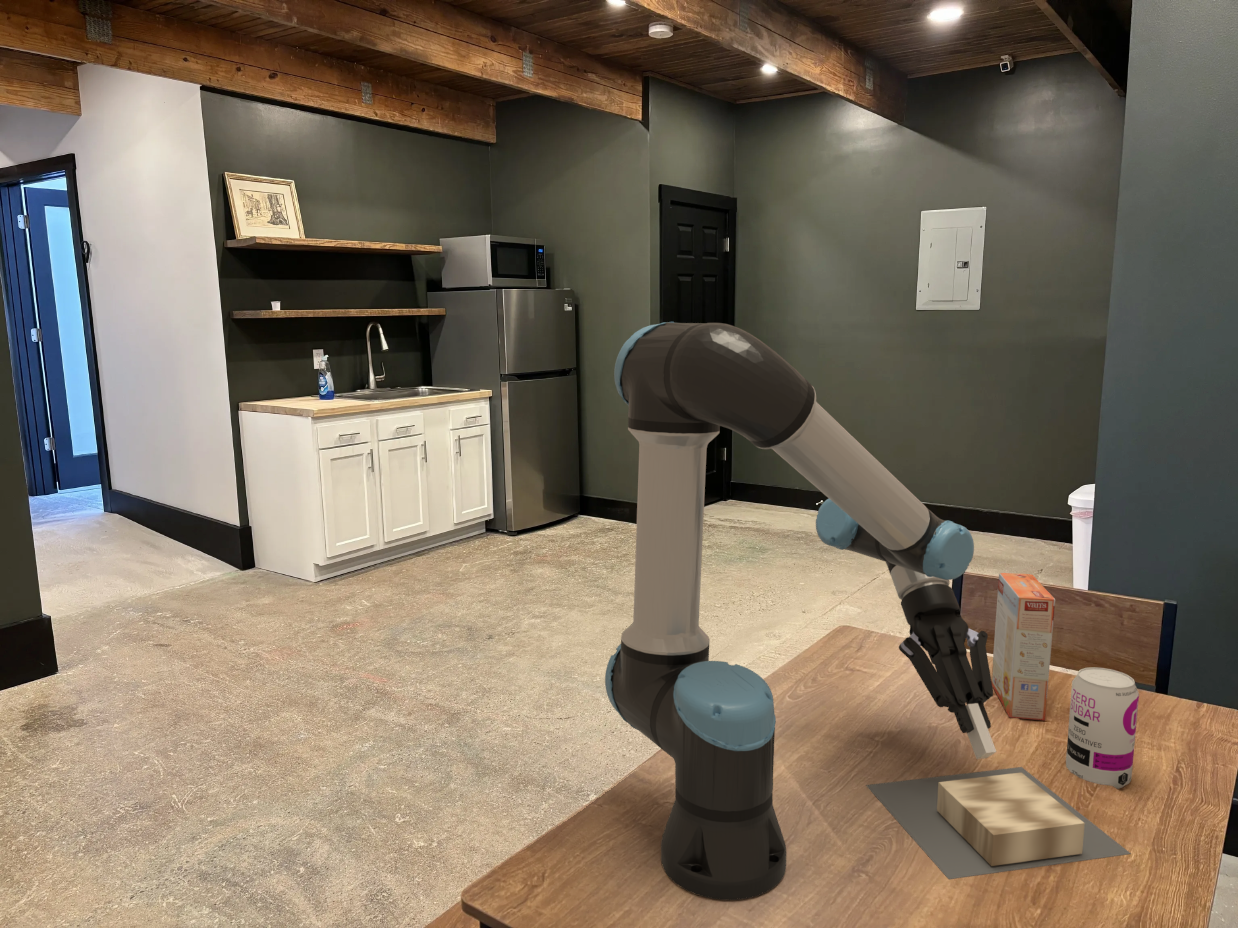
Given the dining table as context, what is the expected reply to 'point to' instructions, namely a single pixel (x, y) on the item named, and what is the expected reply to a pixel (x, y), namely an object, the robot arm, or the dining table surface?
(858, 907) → the dining table surface
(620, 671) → the robot arm
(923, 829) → the mat
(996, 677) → the cracker box
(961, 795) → the wooden block
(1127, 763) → the supplement can
